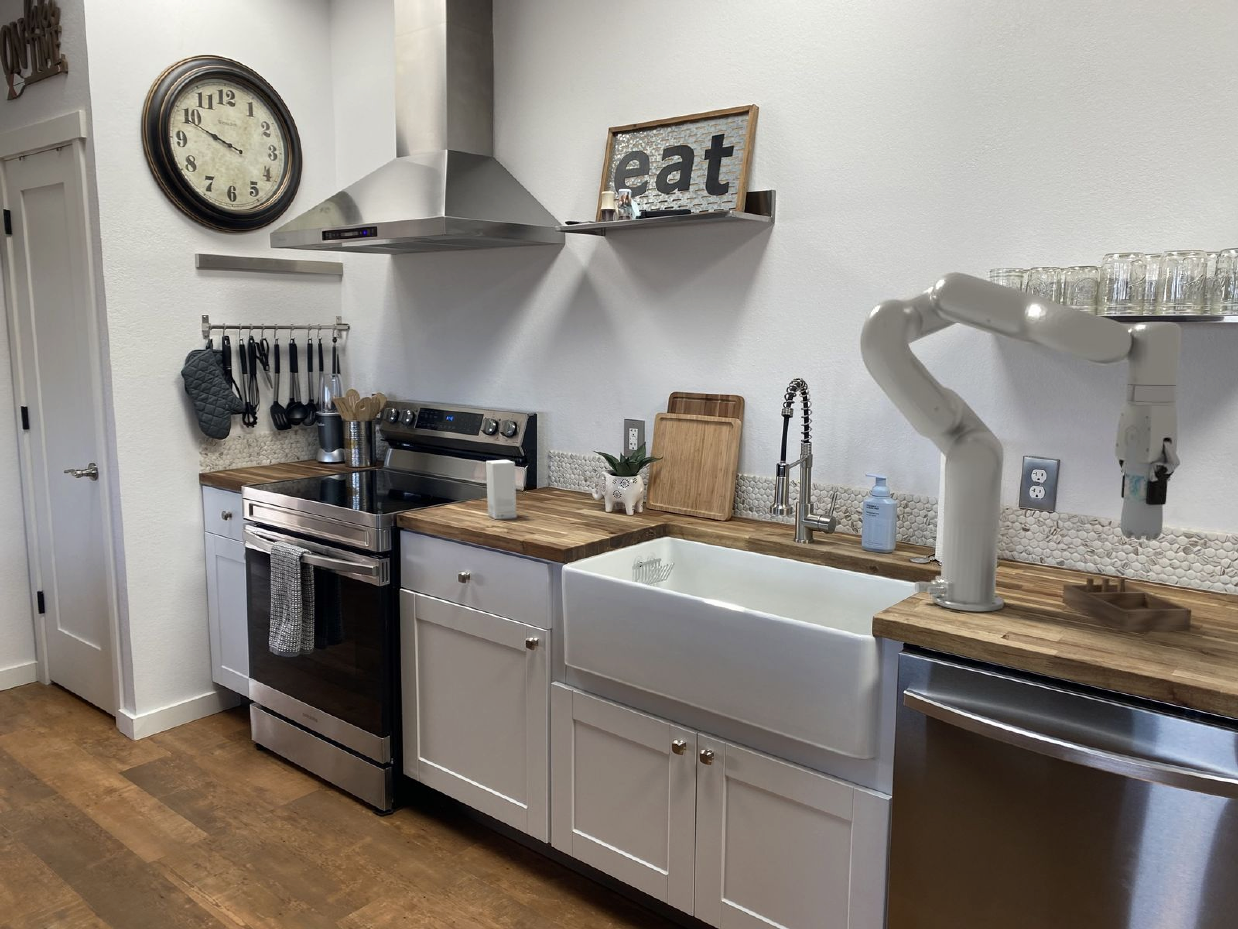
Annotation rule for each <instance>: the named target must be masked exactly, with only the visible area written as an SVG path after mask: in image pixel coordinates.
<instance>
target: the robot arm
mask: <svg viewBox="0 0 1238 929" xmlns="http://www.w3.org/2000/svg"><path fill="white" fill-rule="evenodd" d="M863 323H864V324H863V326H862V329H861V333H860V339H859V340H860V341H859V342H860V343H859V344H860V352H861V353H860V354H861V358H862V360H863V363H864V365H865V368H866V369H867V372H868V373H869V375H870V376H871V377H872V378H873V380H874V381H875V383H876V384H877V385H878V386H879V387H880V388H881V390H882V391H883V392H884V394H886V396H887V397H888V399H890V401H891V402H892V404H893V405H895V407H896V408H897V409H898V410H899V412H900V413H901V414H902V416H904V418H905V419H906V420H907V421H908V422H909V424H910V425H911V427H912V428H913V429H914V430H915V431H916V433H918V434H919V435H920V436H922V437H924V438H927V439H929V440H930V441H931V442H932V443H933V444H934V446H936V448H937V449H938V450H939V451H940V452H941V453H942V455H944V457H945V462H944V501H943V502H944V505H943V528H942V529H943V531H942V548H941V551H942V552H941V553H942V554H941V567H940V568H941V572H940V575H935V579H932V580H931V581H927V582H926V581H915V583H914V590H915V592H916V593H927V594H928V595H931V596H930V597H931V598H930V599H931V601H932V602H933V604H936V605H938V606H941V607H944V608H948V609H952V610H956V611H957V610H958V611H965V612H993V611H998V610H1000V609H1002V608H1004V604H1005V602H1004V599H1003V597H1001V596H999V595H997V594H996V585H997V584H996V583H997V570H998V569H997V567H998V566H997V563H998V550H999V548H998V546H999V530H1000V529H999V528H1000V511H1001V490H1002V479H1003V478H1002V477H1003V468H1004V467H1003V466H1004V457H1005V456H1004V449H1003V445H1002V443H1001V441H1000V440H999V438H998V437H997V436H996V434H995V433H994V432H992V430H991V429H990V428H989V427H988V425H987V424H986V423H985V422H984V421H983V420H982V419H981V418H980V416H978V415H977V413H975V411H974V410H973V408H971V407H970V405H969V404H968V403H967V402H966V401H965V400H964V399H963V398H962V397H961V396H960V394H959V393H957V392H956V391H954V390H953V389H951V388H949V387H945V386H943V385H942V384H941V383H940V382H939V380H937V379H936V378H935V376H933V374H932V373H931V372H930V371H929V370H928V369H927V367H926V366H925V365H924V364H923V362H921V361H920V360H919V359H918V357H917V356H916V355H915V354H914V352H913V351H912V349H911V347H910V345H909V344H912V343H914V342H916V341H918V340H921V339H923V338H925V337H927V336H930V335H933V334H936V333H937V332H941V331H943V330H945V329H947V328H949V327H952V326H953V325H956V324H961V325H964V326H967V327H970V328H974V329H976V330H980V331H983V332H986V333H989V334H992V335H995V336H998V337H1001V338H1003V339H1007V340H1010V341H1013V342H1017V343H1020V344H1028V345H1033V346H1038V347H1042V348H1045V349H1049V350H1052V351H1055V352H1059V353H1061V354H1064V355H1068V356H1070V357H1074V358H1077V359H1080V360H1082V361H1086V362H1088V363H1091V364H1093V365H1097V366H1112V365H1116V364H1123V363H1125V364H1126V363H1127V372H1126V385H1125V396H1124V398H1125V400H1124V402H1123V404H1122V407H1121V410H1120V415H1119V418H1118V426H1117V431H1116V439H1115V449H1114V450H1115V451H1114V452H1115V457H1116V458H1117V460H1118V465H1119V466H1120V468H1121V469H1120V474H1121V475H1122V477H1121V478H1122V481H1121V492H1120V493H1121V494H1120V496H1121V498H1122V499H1124V487H1125V473H1126V469H1125V467H1124V463H1125V462H1124V456H1125V453H1126V449H1127V445H1128V442H1129V441H1134V442H1135V443H1136V444H1135V446H1136V447H1135V450H1136V457H1137V461H1138V462H1139V463H1141V464H1149V473H1150V479H1151V481H1147V494H1146V504H1148V505H1163V506H1165V505H1166V503H1167V493H1168V483H1169V482H1170V481H1171V476H1172V475H1173V474H1174V472H1175V470H1176V469H1177V468H1178V467H1179V466H1180V464H1181V461H1180V459H1179V456H1178V454H1177V451H1178V450H1177V449H1178V448H1177V446H1178V415H1177V404H1176V403H1177V394H1178V383H1179V382H1178V379H1179V372H1180V370H1179V368H1180V367H1179V366H1180V355H1181V346H1182V345H1181V344H1182V343H1181V342H1182V328H1181V326H1180V325H1179V323H1176V322H1172V321H1168V322H1167V321H1144V322H1138V323H1135V324H1134V323H1133V324H1132V323H1121V322H1119V321H1118V320H1114V319H1110V318H1108V317H1104V316H1100V315H1097V314H1094V313H1090V312H1087V311H1083V310H1081V309H1077V308H1074V307H1071V306H1067V305H1065V304H1062V303H1057V302H1056V301H1055V302H1054V301H1051V300H1049V299H1047V298H1044V297H1042V296H1039V295H1035V294H1032V293H1029V292H1026V291H1023V290H1020V289H1017V288H1013V287H1010V286H1006V285H1003V284H999V283H996V282H993V281H989V280H986V279H983V278H981V277H976V276H973V275H970V274H967V273H961V272H956V271H955V272H954V271H953V272H948V273H946V274H943V275H942V276H941V277H939V278H938V279H937V280H936V281H935V283H934V285H932V286H929V287H927V288H925V289H922V290H920V291H919V292H916V293H914V294H912V295H911V294H910V295H909V296H907V297H905V298H902V299H893V298H892V299H887V300H883V301H881V302H879V303H878V304H876V305H875V306H874V307H873V308H872V309H871V310H870V312H869V313H868V315H867V317H866V318H865V321H864V322H863ZM1159 457H1161V458H1164V462H1154V461H1157V459H1158V458H1159ZM1156 466H1162V467H1161V468H1160V469H1159V470H1158V471H1157V469H1156Z"/></svg>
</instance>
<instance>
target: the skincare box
mask: <svg viewBox="0 0 1238 929" xmlns="http://www.w3.org/2000/svg"><path fill="white" fill-rule="evenodd" d="M485 465H486V466H485V470H486V474H485V475H486V494H487V499H486V500H487V516H488V517H491V518H492V519H494V520H507V519H508V520H509V519H510V520H511V519H517V518H518V517H517V493H516V492H517V491H516V490H517V489H516V462H515V461H511V460H509V459H499V460H498V459H497V460H486V461H485Z"/></svg>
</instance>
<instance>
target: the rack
mask: <svg viewBox="0 0 1238 929" xmlns="http://www.w3.org/2000/svg"><path fill="white" fill-rule="evenodd" d="M1094 582H1095V579H1094V578H1093V577H1092V578H1091V577H1088V578H1086V583H1075V584H1074V583H1071V584H1064V583H1063V588H1062V591H1063V592H1062V604H1064V605H1066V606H1068V607H1070V608H1072V609H1075V610H1076V611H1078V612H1080V613H1082V614H1085V615H1087V616H1089V617H1091V618H1093V619H1094V620H1098V621H1099V622H1101V623H1103V624H1105V625H1108V626H1109V627H1112V628H1114V629H1116V630H1118V631H1120V632H1122V633H1128V632H1129V633H1131V632H1135V633H1136V632H1169V631H1170V632H1171V631H1173V632H1174V631H1176V632H1178V631H1180V632H1181V631H1190V630H1191V622H1192V620H1191V619H1192V609H1190V608H1187V607H1185V606H1182V605H1181V604H1178V603H1175V602H1172V601H1170V600H1168V599H1165V598H1163V597H1160V596H1157V595H1155V594H1152V593H1149V592H1147V591H1145V590H1142V589H1139V588H1137V587H1135V586H1132V585H1131V584H1127V583H1126V578H1124V577H1117V583H1110V578H1108V577H1102V583H1094Z"/></svg>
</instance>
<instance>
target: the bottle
mask: <svg viewBox="0 0 1238 929" xmlns="http://www.w3.org/2000/svg"><path fill="white" fill-rule="evenodd" d="M1135 444H1136V443H1135V442H1134V441H1129V442H1128V445H1127V449H1126V453H1125V456H1124V462H1125V463H1124V467H1125V469H1126V473H1125V487H1124V498H1123V502H1122V510H1121V515H1120V530H1121V534H1122V535H1123V536H1125V537H1126V538H1127V539H1131V538H1132V536H1133V537H1134V539H1135V540H1137V541H1139V540H1140V539H1141V537H1145V540H1146V541H1151V540H1152V541H1153V540H1154V541H1155V540H1157V539H1159V538H1160V536H1161V534H1162V531H1163V523H1164V522H1163V520H1164V518H1163V516H1164V515H1163V514H1164V513H1163V511H1164V510H1163V506H1164V505H1148V504H1146V494H1147V481H1151V479H1150V473H1149V464H1141V463H1139V462H1138V461H1137V457H1136V450H1135V447H1136V446H1135ZM1154 462H1164V458H1161V457H1159V458H1158V459H1157V461H1154ZM1161 467H1162V466H1156V469H1157V471H1158V470H1159V469H1160V468H1161Z"/></svg>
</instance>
